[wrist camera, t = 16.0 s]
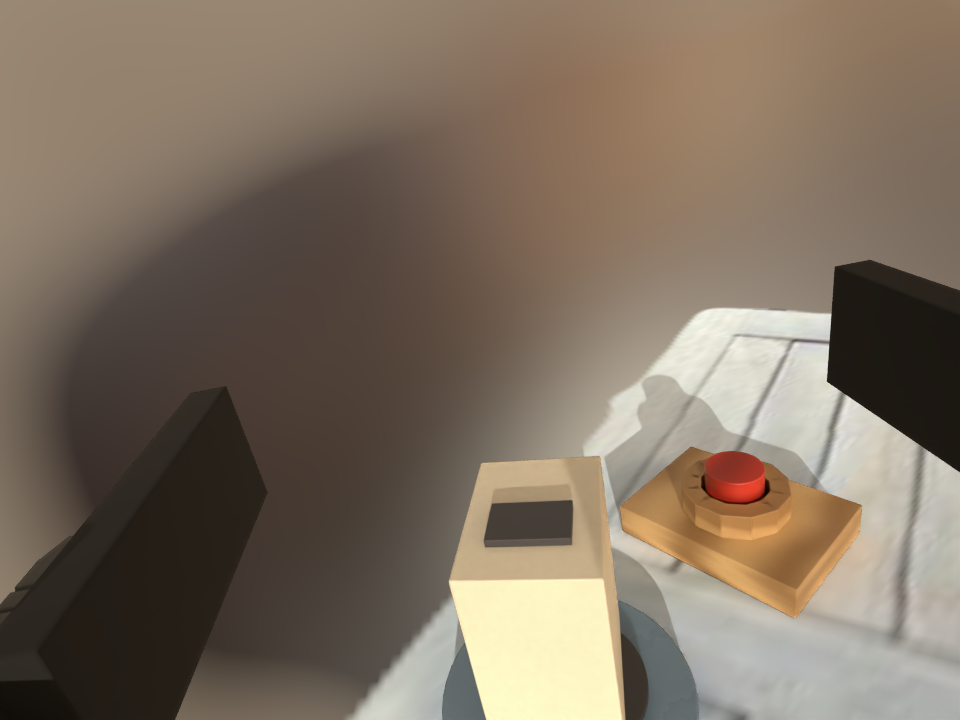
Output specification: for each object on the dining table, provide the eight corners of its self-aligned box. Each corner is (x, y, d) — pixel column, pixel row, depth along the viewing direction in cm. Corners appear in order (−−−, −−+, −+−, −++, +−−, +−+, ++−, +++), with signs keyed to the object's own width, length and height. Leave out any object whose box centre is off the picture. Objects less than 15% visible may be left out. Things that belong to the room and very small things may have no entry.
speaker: (657, 775, 26) (636, 575, 21) (471, 764, 28) (415, 578, 23) (641, 613, 34) (624, 441, 29) (496, 613, 35) (458, 451, 31)
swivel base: (751, 699, 30) (751, 678, 29) (582, 933, 23) (577, 913, 22) (560, 576, 40) (557, 559, 39) (400, 715, 33) (394, 697, 32)
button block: (859, 532, 38) (864, 481, 37) (795, 619, 33) (798, 565, 32) (692, 469, 47) (690, 426, 46) (622, 530, 42) (617, 485, 41)
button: (775, 484, 39) (775, 462, 38) (747, 513, 37) (747, 490, 36) (723, 466, 41) (722, 444, 41) (694, 492, 39) (693, 470, 39)
